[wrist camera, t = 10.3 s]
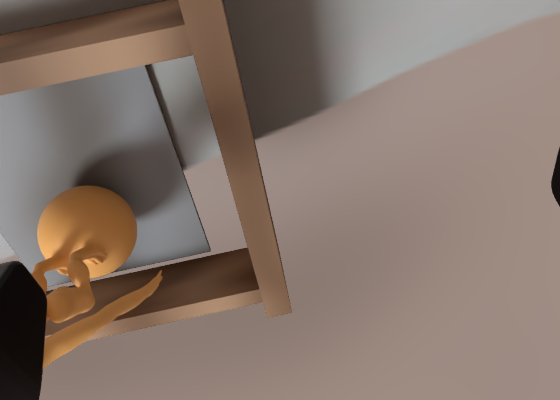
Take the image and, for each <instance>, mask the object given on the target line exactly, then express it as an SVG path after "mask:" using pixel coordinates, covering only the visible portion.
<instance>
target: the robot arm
mask: <svg viewBox="0 0 560 400" xmlns="http://www.w3.org/2000/svg"><path fill="white" fill-rule="evenodd" d="M551 187H552V192H553V195H554V197H555V199H556V201H557V203H558V205H559V206H560V148H559V152H558V155H557V160H556V164H555V168H554V172H553V176H552V181H551ZM46 318H47V297H46V294H45V292H44V290H43V289H42V287H41V286H40V285H39V284H38V282H37V281H36V280H35V278H34V277H33V276H32V275H31V273H30V272H29V271H28V269H27V268H26V267H25V266H24V265H23V264H22V263H20V262H19V261H11V262H6V263H2V264H0V400H39V396H40V390H41V382H42V372H43V359H44V345H45V331H46Z"/></svg>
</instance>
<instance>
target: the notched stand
mask: <svg viewBox="0 0 560 400" xmlns="http://www.w3.org/2000/svg"><path fill="white" fill-rule="evenodd" d="M191 55H194V58H195V62H196V65H197V69H198V72H199V76H200V79H201V83H202V87H203V90H204V94H205V97H206V101H207V104H208V108H209V111H210V115H211V119H212V122H213V126H214V129H215V133H216V136H217V140H218V143H219V147H220V150H221V154H222V158H223V161H224V165H225V168H226V172H227V175H228V178H229V182H230V186H231V189H232V193H233V197H234V200H235V204H236V207H237V211H238V214H239V218H240V221H241V225H242V228H243V232H244V236H245V239H246V243H247V246H248V248H243V249H239V250H234V251H230V252H225V253H221V254H216V255H211V256H207V257H202V258H197V259H193V260H188V261H184V262H179V263H175V264H170V265H165V266H161V267H156V268H152V269H147V270H142V271H138V272H133V273H129V274H124V275H119V276H115V277H110V278H105V279H101V280H96V281H92V282H90V286H91V289H92V293H93V295H94V298H95V304H94V306H93V307H92V308H91V309H90V310H89V311H87V312H85V313H81V314H78V315H76V316H74V317H73V318H71V319H68V320H66V321H63V322H61V323H54V322H53V321H52V320H51V319H48V320H47V321H46V331H45V339H46V338H47V337H49V336H51V335H53V334H54V333H56V332H58V331H60V330H62V329H64V328H66V327H68V326H70V325H71V324H73V323H75V322H78V321H80V320H82V319H84V318H86V317H89V316H92V315H94V314H96V313H97V312H99V311H100V310H101V309H102V308H104V307H105V306H107V305H108V304H110V303H112V302H114V301H115V300H117V299H119V298H121V297H123V296H125V295H127V294H129V293H131V292H133V291H136V290H139V289H141V288H142V287H144V286H145V285H147V284H148V283H149V282H150V281H151V280H152V279H153V278H155V277H156V276H157V275H158V273H159V272H160V270H162V273H161V275H160V276H162V277H163V278H162V280H161V281H160V282H159V286H158V287H157V289H156V290H155V291H154V292H153V294H152V295H151V296H149V297H147V298H146V299H145V300H143V301H142V302H141V303H140V304H139V305H138V306H136V307H135V308H133V309H132V310H130V311H128V312H126V313H124V314H122V315H119V316H118V317H116V318H115V319H114V320H113V321H112V322H111V323H110V324H108V325H107V326H106V327H104V328H103V329H101V330H99V331H98V332H96V333H95V334H94V335H92V336H91V337H90V338H88V339H87V340H86V341H88V340H93V339H97V338H102V337H106V336H111V335H116V334H120V333H125V332H129V331H133V330H138V329H143V328H148V327H152V326H157V325H161V324H166V323H170V322H175V321H179V320H184V319H189V318H193V317H198V316H202V315H207V314H211V313H215V312H220V311H225V310H230V309H234V308H238V307H243V306H247V305H252V304H257V303H261V302H263V303H264V306H265V310H266V314H267V317H268V318H269V317H274V316H278V315H283V314H288V313H291V312H292V310H291V305H290V300H289V296H288V291H287V286H286V281H285V276H284V271H283V267H282V262H281V257H280V252H279V248H278V243H277V239H276V235H275V230H274V225H273V221H272V217H271V212H270V208H269V203H268V199H267V195H266V190H265V185H264V181H263V176H262V172H261V167H260V163H259V159H258V154H257V150H256V145H255V141H254V136H253V132H252V127H251V123H250V118H249V114H248V109H247V105H246V100H245V96H244V91H243V87H242V82H241V78H240V74H239V69H238V65H237V60H236V56H235V51H234V47H233V42H232V38H231V33H230V29H229V24H228V20H227V15H226V11H225V7H224V2H223V0H166V1H161V2H157V3H152V4H147V5H142V6H137V7H133V8H128V9H123V10H118V11H113V12H109V13H104V14H99V15H94V16H90V17H85V18H80V19H75V20H70V21H66V22H61V23H56V24H51V25H46V26H42V27H37V28H32V29H27V30H22V31H18V32H13V33H8V34H3V35H0V233H1V235H2V236H3V237H4V239H5V240H6V241H7V243H8V244H9V246H10V247H11V248H12V250H13V251H14V252H15V254H16V255H17V256H18V258H19V259H20V261H21V262H22V263H23V265H24V266H25V267H26V268H27V269H28V271H29V272H30V273H32V272H33V269H34V266H35V265H36V264H37V263H39V262H41V261H43V260H46V259H45V257H44V256H43V254H42V252H41V250H40V247H39V244H38V239H37V228H38V222H39V219H40V216H41V214H42V212H43V210H44V209H45V207H46V206H47V205H48V203H49V202H50V201H51V200H52V199H53V198H55V197H56V196H57V195H59V194H60V193H62V192H64V191H66V190H68V189H70V188H74V187H78V186H85V185H91V186H99V187H103V188H106V189H109V190H111V191H113V192H115V193H116V194H118V195H119V196H121V197H122V198H123V199H124V200H125V201H126V202H127V203H128V205H129V206H130V208H131V209H132V211H133V213H134V216H135V218H136V222H137V240H136V244H135V246H134V249H133V251H132V253H131V255H130V256H129V258H128V259H127V260H126V261H125V262H124V263H123V264H122V265H121V266H120V267H119V268H118V269H116V270H115V271H113V272H118V271H122V270H127V269H131V268H136V267H141V266H145V265H150V264H154V263H159V262H164V261H168V260H173V259H177V258H182V257H187V256H191V255H196V254H201V253H205V252H210V246H209V243H208V240H207V238H206V235H205V232H204V229H203V226H202V223H201V221H200V218H199V215H198V212H197V210H196V207H195V204H194V201H193V198H192V195H191V192H190V190H189V187H188V184H187V181H186V179H185V175H184V173H183V170H182V167H181V164H180V161H179V158H178V156H177V153H176V150H175V147H174V144H173V142H172V139H171V136H170V133H169V130H168V127H167V125H166V122H165V119H164V116H163V113H162V110H161V108H160V105H159V102H158V99H157V96H156V93H155V91H154V88H153V85H152V82H151V79H150V77H149V74H148V71H147V68H146V65H148V64H153V63H158V62H162V61H167V60H172V59H176V58H181V57H186V56H191ZM113 272H111V273H113ZM44 276H45V278H46V280H47V287H49V286H53V285H58V284H63V283H67V282H72V281H71V280H70V278H69V276H68V275H63V274H60V273H59V272H58V271H57V270H51V271H47V272H45V273H44ZM73 287H77V286H76V285H74V286H69V287H68V288H73ZM53 291H54V290H51V291H46V296H47V295H48V294H50V293H51V292H53Z"/></svg>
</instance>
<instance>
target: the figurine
mask: <svg viewBox="0 0 560 400" xmlns="http://www.w3.org/2000/svg"><path fill="white" fill-rule="evenodd" d="M37 239H38V244H39V247H40V250H41V252H42V254H43V256H44V257H45V259H46V260H43V261H41V262H39V263H37V264H36V265H35V266H34V269H33V272H32V273H31V275H32V276H33V277H34V278H35V280H36V281H37V282H38V284H39V285H40V286H41V287H42V289H43V290H44V292H45V294H46V290H47V280H46V278H45V276H44V273H45V272H47V271H51V270H57V271H58V272H59V273H60V274H63V275H68V276H69V278H70V280H71V281H72V283H73V284H75V285H76V286H77V287H73V288H68V287H60V288H57V289H55V290H54V291H53V292H51V293H50V294H48V295H47V296H46V297H47V318H46V321H47V320H48V319H51V320H52V321H53V322H54V323H61V322H63V321H66V320H68V319H71V318H73V317H74V316H76V315H78V314H81V313H85V312H87V311H89V310H90V309H91V308H92V307H93V306H94V304H95V298H94V295H93V293H92V289H91V286H90V278H97V277H101V276H104V275H107V274H109V273H111V272H113V271H115V270H116V269H118V268H119V267H120V266H121V265H122V264H123V263H124V262H125V261H126V260H127V259H128V258H129V256H130V255H131V253H132V251H133V249H134V246H135V244H136V240H137V222H136V218H135V216H134V213H133V211H132V209H131V208H130V206H129V205H128V203H127V202H126V201H125V200H124V199H123V198H122V197H121V196H119V195H118V194H116V193H115V192H113V191H111V190H109V189H106V188H103V187H99V186H91V185H85V186H78V187H74V188H70V189H68V190H66V191H64V192H62V193H60V194H59V195H57V196H56V197H55V198H53V199H52V200H51V201H50V202H49V203H48V205H47V206H46V207H45V209H44V210H43V212H42V214H41V216H40V219H39V222H38V228H37ZM161 273H162V270H160V272H159V273H158V275H157V276H156V277H155V278H153V279H152V280H151V281H150V282H149V283H148V284H147V285H145V286H144V287H142V288H141V289H139V290H136V291H133V292H131V293H129V294H127V295H125V296H123V297H121V298H119V299H117V300H115V301H114V302H112V303H110V304H108V305H107V306H105V307H104V308H102V309H101V310H100V311H99V312H97V313H96V314H94V315H92V316H89V317H86V318H84V319H82V320H80V321H78V322H75V323H73V324H71V325H70V326H68V327H66V328H64V329H62V330H60V331H58V332H56V333H54V334H53V335H51V336H49V337H47V338H46V339H45V345H44V359H43V369H44V368H45V367H46V366H47V365H48V364H50V363H51V362H52V361H54V360H55V359H56V358H58V357H60V356H62V355H64V354H65V353H67V352H69V351H71V350H72V349H74V348H75V347H77V346H78V345H79V344H81V343H83V342H84V341H86V340H87V339H88V338H90V337H91V336H92V335H94V334H95V333H96V332H98V331H99V330H101V329H103V328H104V327H106V326H107V325H108V324H110V323H111V322H112V321H113V320H114V319H115V318H116V317H118V316H119V315H122V314H124V313H126V312H128V311H130V310H132V309H133V308H135V307H136V306H138V305H139V304H140V303H141V302H142V301H143V300H145V299H146V298H147V297H149V296H151V295H152V294H153V292H154V291H155V290H156V289H157V287H158V286H159V282H160V281H161V280H162V278H163V277H162V276H160V275H161Z"/></svg>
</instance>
